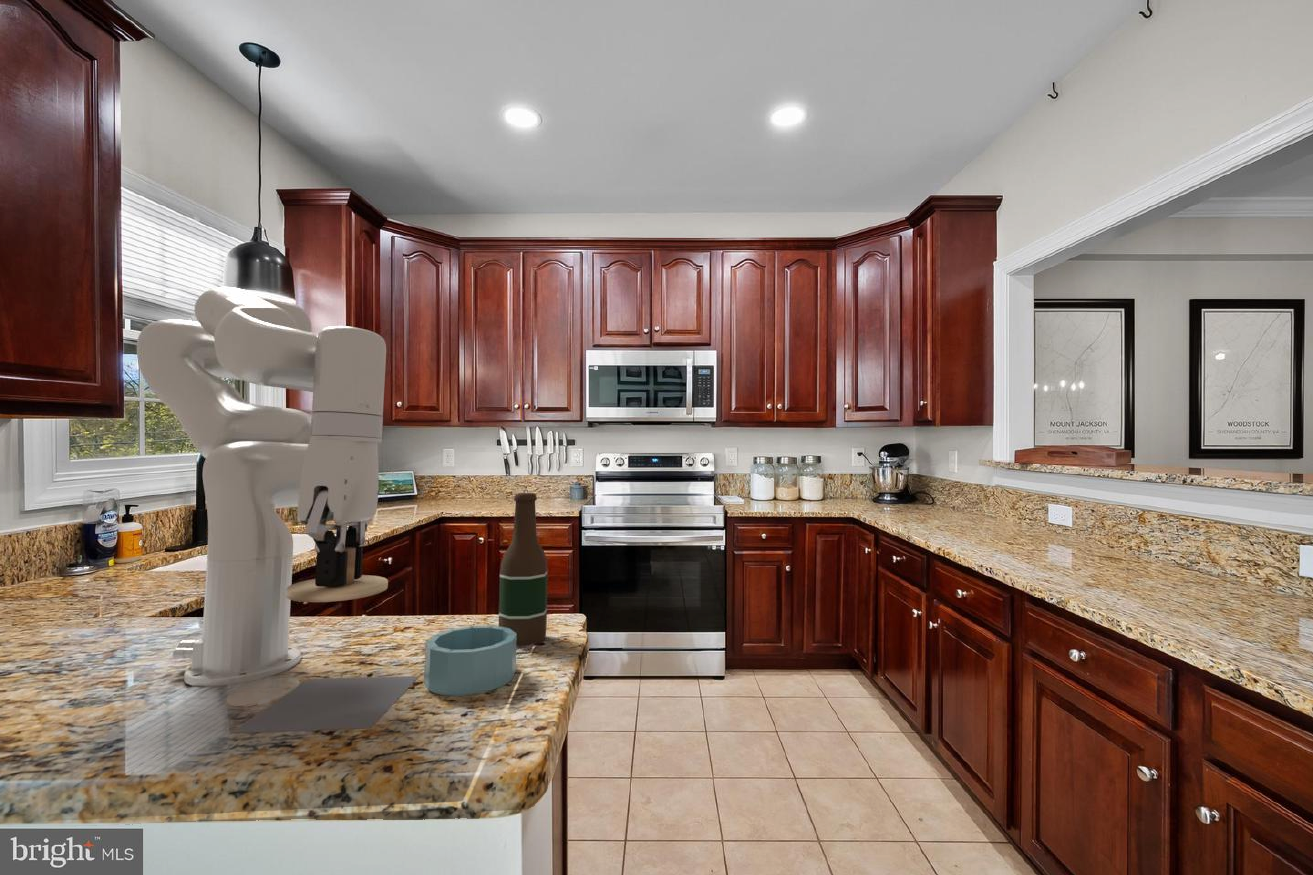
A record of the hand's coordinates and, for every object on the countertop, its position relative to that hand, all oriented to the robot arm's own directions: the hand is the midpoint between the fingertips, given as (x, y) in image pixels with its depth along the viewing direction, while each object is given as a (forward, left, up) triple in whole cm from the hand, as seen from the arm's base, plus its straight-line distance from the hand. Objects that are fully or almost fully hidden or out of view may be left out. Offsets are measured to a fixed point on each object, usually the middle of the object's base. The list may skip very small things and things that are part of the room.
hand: (339, 580), depth 63 cm
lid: (0, 0, -1) cm, 1 cm away
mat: (0, 0, -14) cm, 14 cm away
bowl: (+14, +6, -14) cm, 21 cm away
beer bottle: (+18, +22, -15) cm, 32 cm away
